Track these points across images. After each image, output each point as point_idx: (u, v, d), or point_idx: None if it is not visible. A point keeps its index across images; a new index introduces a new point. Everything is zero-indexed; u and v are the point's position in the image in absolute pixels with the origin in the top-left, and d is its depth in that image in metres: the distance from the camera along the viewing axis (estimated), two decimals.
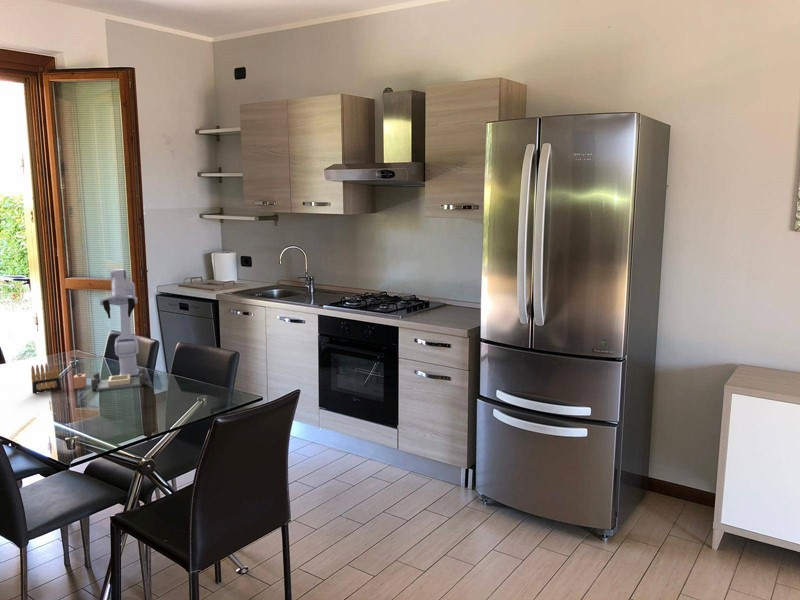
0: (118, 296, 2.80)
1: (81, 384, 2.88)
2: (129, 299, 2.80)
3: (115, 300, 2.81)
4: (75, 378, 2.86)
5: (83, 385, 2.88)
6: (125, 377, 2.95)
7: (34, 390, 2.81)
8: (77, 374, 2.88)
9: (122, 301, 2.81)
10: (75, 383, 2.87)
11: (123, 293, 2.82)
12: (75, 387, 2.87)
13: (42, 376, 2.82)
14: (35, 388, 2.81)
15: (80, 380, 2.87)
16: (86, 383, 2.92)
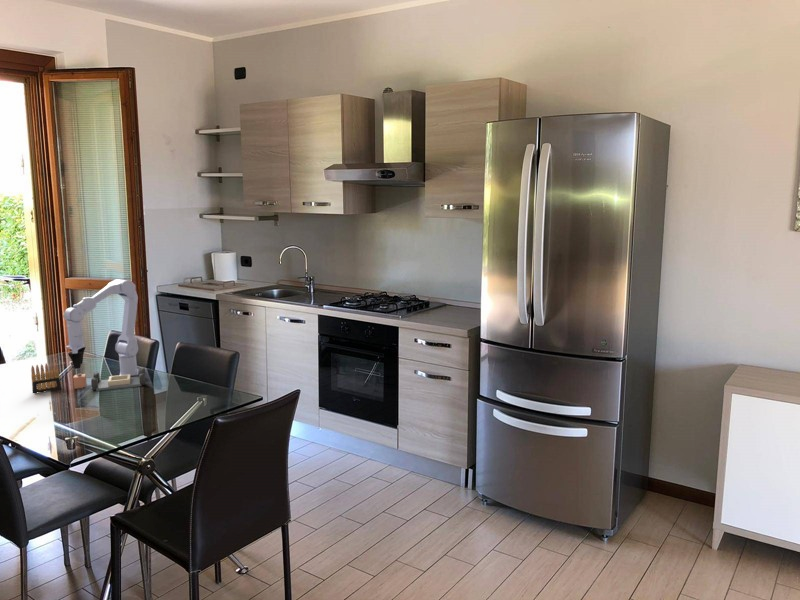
0: None
1: (81, 384, 2.88)
2: None
3: None
4: (75, 378, 2.86)
5: (83, 385, 2.88)
6: (125, 377, 2.95)
7: (34, 390, 2.81)
8: (77, 374, 2.88)
9: None
10: (75, 383, 2.87)
11: (70, 343, 2.84)
12: (75, 387, 2.87)
13: (42, 376, 2.82)
14: (35, 388, 2.81)
15: (80, 380, 2.87)
16: (86, 383, 2.92)
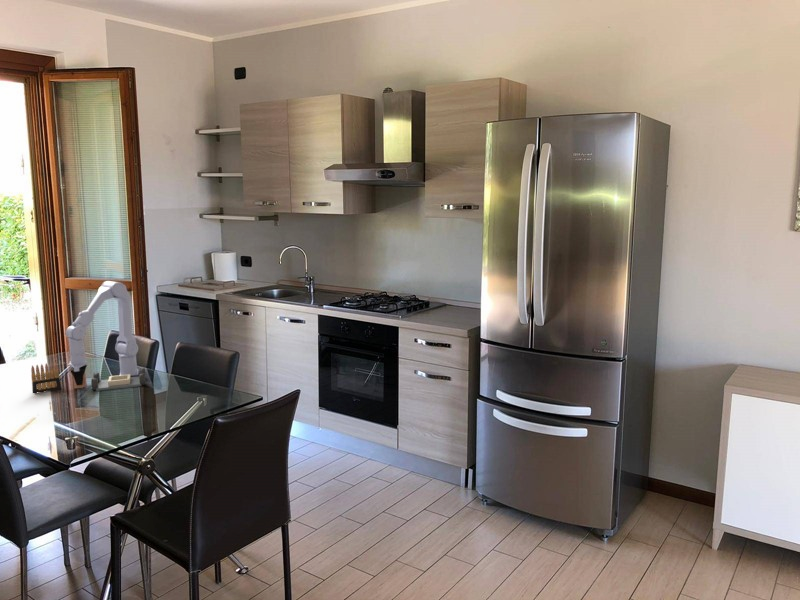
0: None
1: None
2: None
3: None
4: None
5: (83, 385, 2.88)
6: (125, 377, 2.95)
7: (34, 390, 2.81)
8: None
9: None
10: (75, 383, 2.87)
11: (72, 361, 2.85)
12: (75, 387, 2.87)
13: (42, 376, 2.82)
14: (35, 388, 2.81)
15: None
16: (86, 383, 2.92)
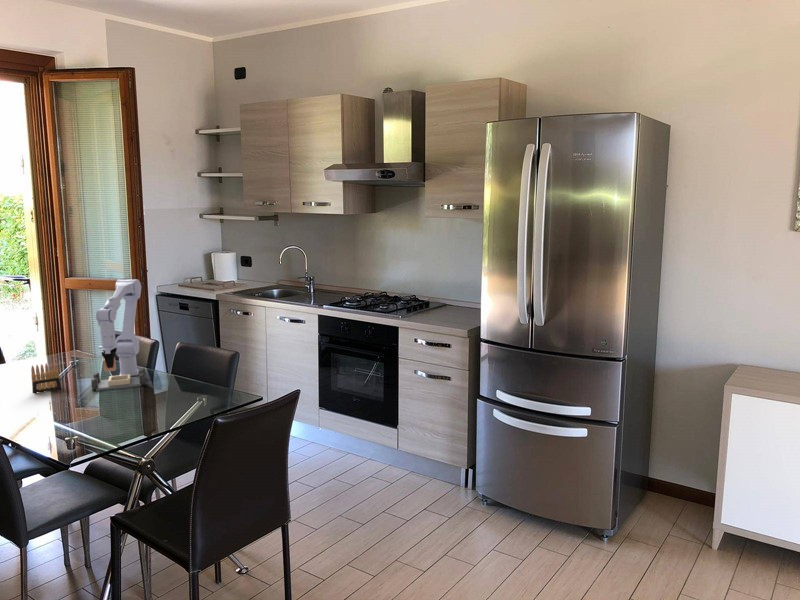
0: None
1: None
2: None
3: None
4: None
5: (113, 368, 2.89)
6: (125, 377, 2.95)
7: (34, 390, 2.81)
8: None
9: None
10: (105, 366, 2.87)
11: (103, 343, 2.86)
12: (105, 370, 2.88)
13: (42, 376, 2.82)
14: (35, 388, 2.81)
15: None
16: (115, 366, 2.92)
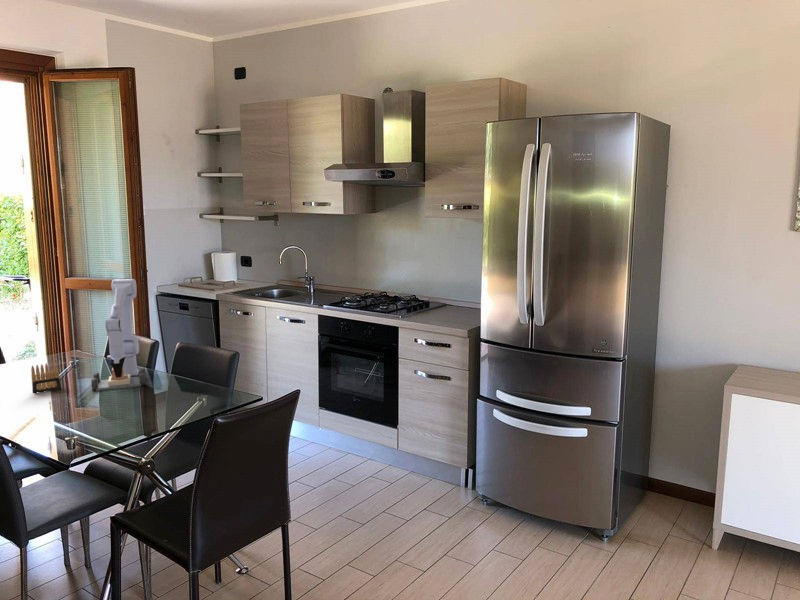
0: None
1: None
2: None
3: None
4: (113, 370, 2.88)
5: (121, 377, 2.90)
6: (125, 377, 2.95)
7: (34, 390, 2.81)
8: None
9: None
10: (113, 375, 2.89)
11: (111, 353, 2.87)
12: (113, 379, 2.89)
13: (42, 376, 2.82)
14: (35, 388, 2.81)
15: None
16: None
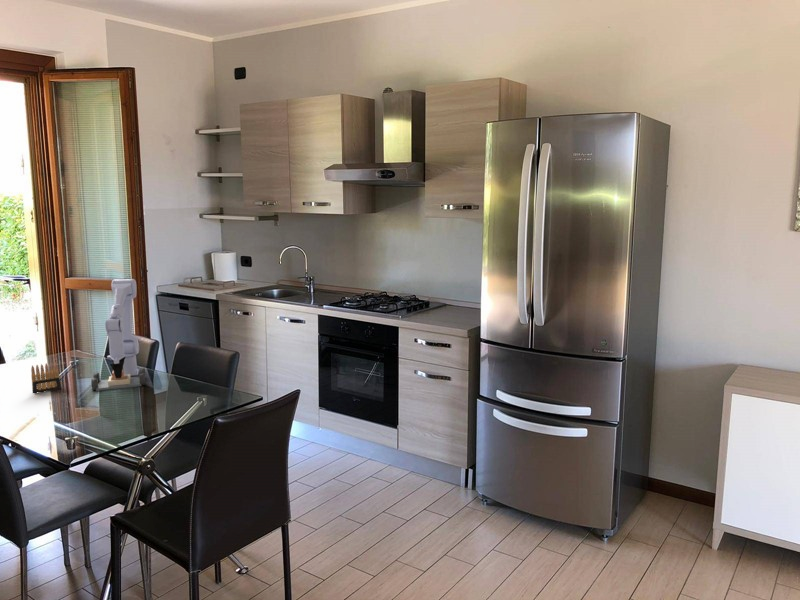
0: None
1: (119, 379, 2.90)
2: None
3: None
4: None
5: None
6: (125, 377, 2.95)
7: (34, 390, 2.81)
8: None
9: None
10: (114, 378, 2.89)
11: (111, 353, 2.87)
12: None
13: (42, 376, 2.82)
14: (35, 388, 2.81)
15: None
16: None
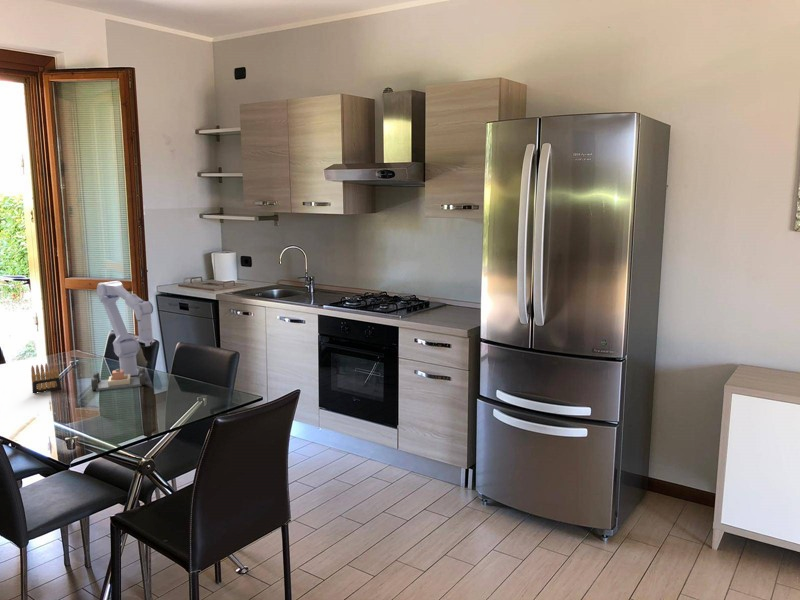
0: None
1: (119, 379, 2.90)
2: None
3: None
4: (114, 373, 2.88)
5: None
6: (125, 377, 2.95)
7: (34, 390, 2.81)
8: None
9: None
10: (114, 378, 2.89)
11: (141, 336, 2.94)
12: None
13: (42, 376, 2.82)
14: (35, 388, 2.81)
15: (119, 375, 2.89)
16: None
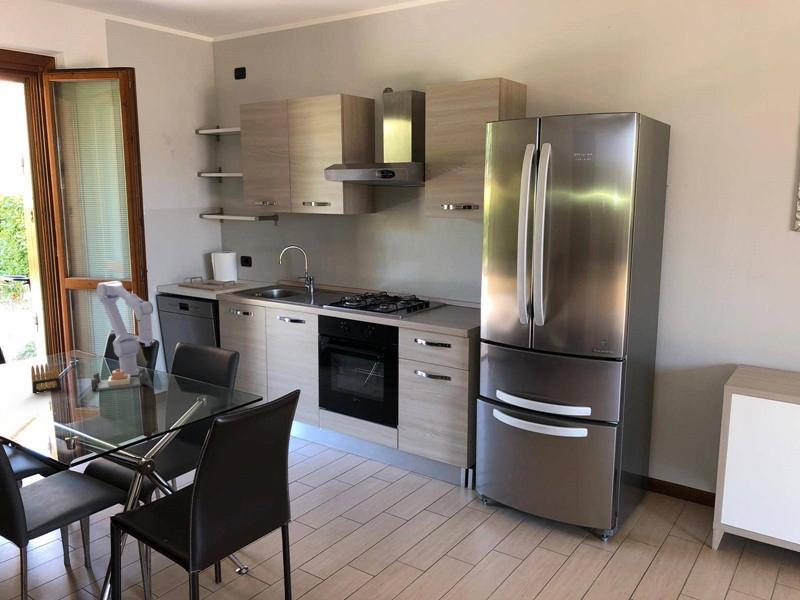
0: None
1: (119, 379, 2.90)
2: (141, 347, 2.92)
3: None
4: (114, 373, 2.88)
5: None
6: (125, 377, 2.95)
7: (34, 390, 2.81)
8: None
9: None
10: (114, 378, 2.89)
11: (141, 336, 2.94)
12: None
13: (42, 376, 2.82)
14: (35, 388, 2.81)
15: (119, 375, 2.89)
16: None
